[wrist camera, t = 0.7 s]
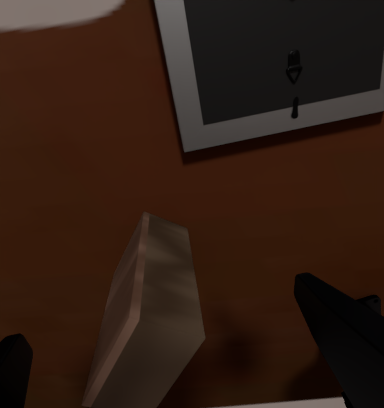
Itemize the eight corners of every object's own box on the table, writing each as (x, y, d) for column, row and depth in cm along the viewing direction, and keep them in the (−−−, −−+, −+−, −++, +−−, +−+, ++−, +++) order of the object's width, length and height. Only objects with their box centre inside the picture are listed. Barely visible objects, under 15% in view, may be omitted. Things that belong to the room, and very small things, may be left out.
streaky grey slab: (187, 228, 24) (205, 338, 14) (154, 287, 26) (149, 417, 16) (143, 211, 22) (129, 317, 13) (113, 274, 25) (81, 405, 15)
